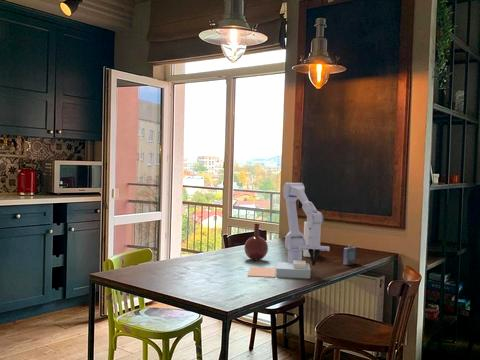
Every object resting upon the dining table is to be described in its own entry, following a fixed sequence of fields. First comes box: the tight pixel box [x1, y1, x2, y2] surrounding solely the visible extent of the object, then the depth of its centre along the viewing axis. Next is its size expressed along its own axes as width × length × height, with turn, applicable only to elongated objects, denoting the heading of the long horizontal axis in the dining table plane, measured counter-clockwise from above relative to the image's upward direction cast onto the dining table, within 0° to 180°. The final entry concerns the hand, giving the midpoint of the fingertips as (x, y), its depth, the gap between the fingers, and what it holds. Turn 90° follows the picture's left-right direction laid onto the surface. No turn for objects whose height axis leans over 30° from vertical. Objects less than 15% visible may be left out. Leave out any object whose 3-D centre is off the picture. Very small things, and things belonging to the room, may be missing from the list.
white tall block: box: [302, 221, 311, 258], centre depth 284 cm, size 11×7×20 cm, turn 146°
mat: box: [247, 266, 277, 279], centre depth 236 cm, size 18×13×1 cm
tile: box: [293, 260, 306, 268], centre depth 234 cm, size 8×6×2 cm
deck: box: [275, 261, 311, 279], centre depth 234 cm, size 15×16×4 cm
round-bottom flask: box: [243, 223, 269, 261], centre depth 266 cm, size 13×13×20 cm
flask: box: [342, 243, 357, 266], centre depth 262 cm, size 9×3×11 cm, turn 129°
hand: (313, 265), depth 233 cm, fingers closed
